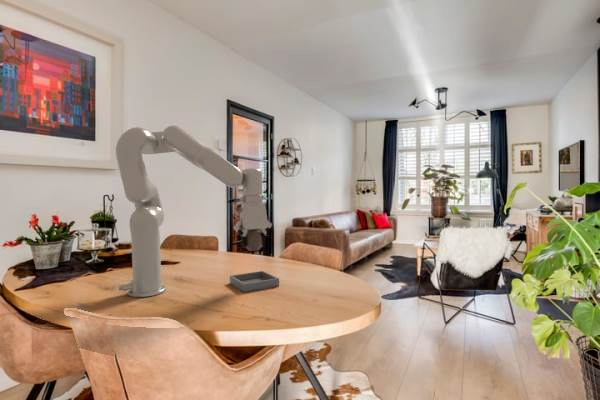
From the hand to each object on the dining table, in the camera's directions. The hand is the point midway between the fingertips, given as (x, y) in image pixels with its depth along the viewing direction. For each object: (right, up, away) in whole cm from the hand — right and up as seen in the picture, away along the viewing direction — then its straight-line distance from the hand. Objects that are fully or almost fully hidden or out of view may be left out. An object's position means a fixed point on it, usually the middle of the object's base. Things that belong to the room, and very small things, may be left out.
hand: (253, 245), depth 131 cm
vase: (0, -2, 0) cm, 2 cm away
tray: (0, -16, +1) cm, 16 cm away
